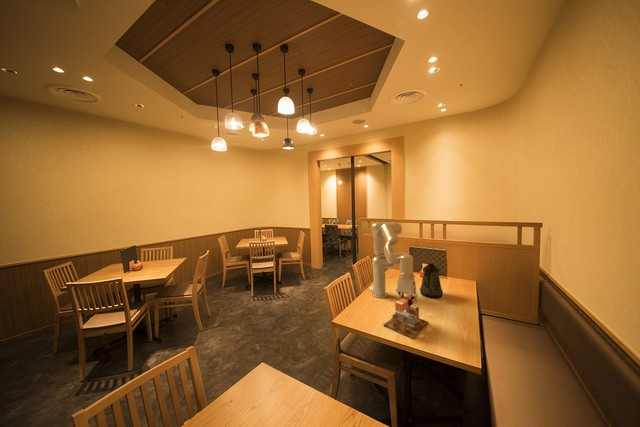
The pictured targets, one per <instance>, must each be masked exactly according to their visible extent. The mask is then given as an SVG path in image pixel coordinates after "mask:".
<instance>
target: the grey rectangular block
mask: <svg viewBox="0 0 640 427" xmlns="http://www.w3.org/2000/svg"><path fill="white" fill-rule="evenodd" d="M395 313H396V314H397V317H400V318H402V319H403V318H404V317H407V323H408V324H411V325H413V326H416V325H417V316H414V315H412V314H409V313H407V312H406V311H405V310H404V311H403V312H399V311H396V310H395V312H394V314H395Z"/></svg>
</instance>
